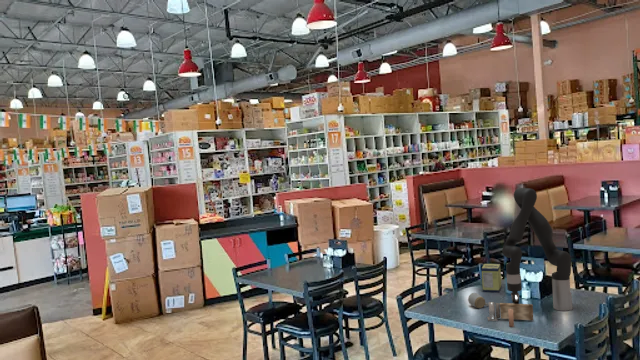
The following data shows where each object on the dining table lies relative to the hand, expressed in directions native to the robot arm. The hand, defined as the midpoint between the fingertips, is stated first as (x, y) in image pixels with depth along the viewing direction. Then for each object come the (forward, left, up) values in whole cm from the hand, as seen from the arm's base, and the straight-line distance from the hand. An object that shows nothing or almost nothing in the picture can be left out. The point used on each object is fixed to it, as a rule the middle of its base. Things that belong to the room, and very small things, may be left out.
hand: (516, 312), depth 290 cm
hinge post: (+13, +4, -3) cm, 14 cm away
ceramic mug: (+18, -21, -3) cm, 27 cm away
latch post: (+5, +15, -3) cm, 16 cm away
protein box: (+6, -58, -3) cm, 58 cm away
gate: (+2, +6, -2) cm, 6 cm away
